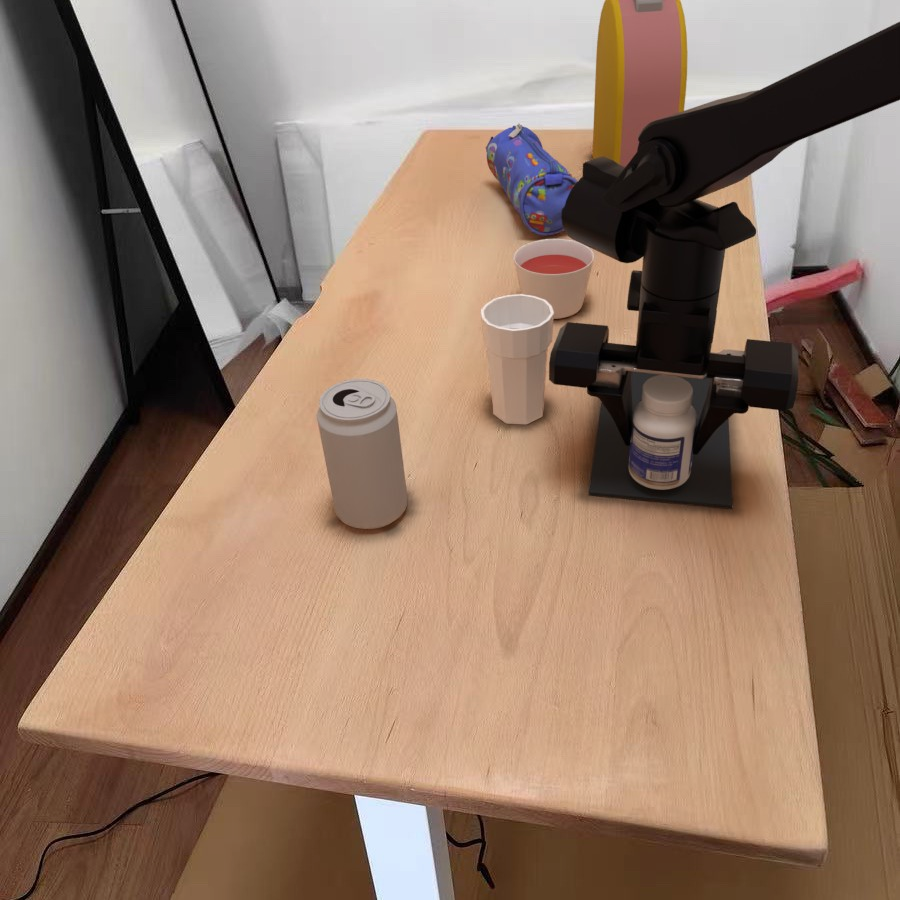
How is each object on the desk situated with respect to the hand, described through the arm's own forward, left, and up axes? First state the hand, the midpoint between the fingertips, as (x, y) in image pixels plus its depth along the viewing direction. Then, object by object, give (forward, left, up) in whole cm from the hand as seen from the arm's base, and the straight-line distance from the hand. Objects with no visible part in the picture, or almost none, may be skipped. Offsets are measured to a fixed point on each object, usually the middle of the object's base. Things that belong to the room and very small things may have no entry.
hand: (661, 447), depth 74 cm
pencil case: (-5, -61, -4) cm, 61 cm away
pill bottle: (0, 0, -3) cm, 3 cm away
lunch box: (-22, -67, -4) cm, 70 cm away
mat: (-3, -6, -4) cm, 8 cm away
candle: (0, -33, -4) cm, 33 cm away
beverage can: (+25, -3, -4) cm, 26 cm away
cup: (+9, -14, -4) cm, 17 cm away
